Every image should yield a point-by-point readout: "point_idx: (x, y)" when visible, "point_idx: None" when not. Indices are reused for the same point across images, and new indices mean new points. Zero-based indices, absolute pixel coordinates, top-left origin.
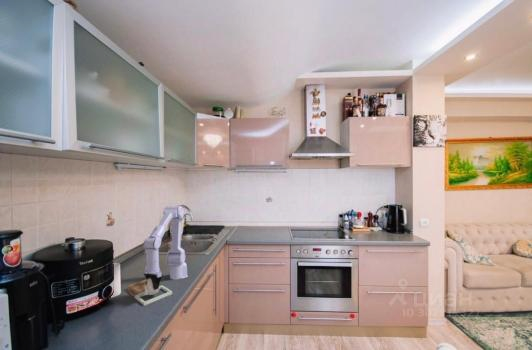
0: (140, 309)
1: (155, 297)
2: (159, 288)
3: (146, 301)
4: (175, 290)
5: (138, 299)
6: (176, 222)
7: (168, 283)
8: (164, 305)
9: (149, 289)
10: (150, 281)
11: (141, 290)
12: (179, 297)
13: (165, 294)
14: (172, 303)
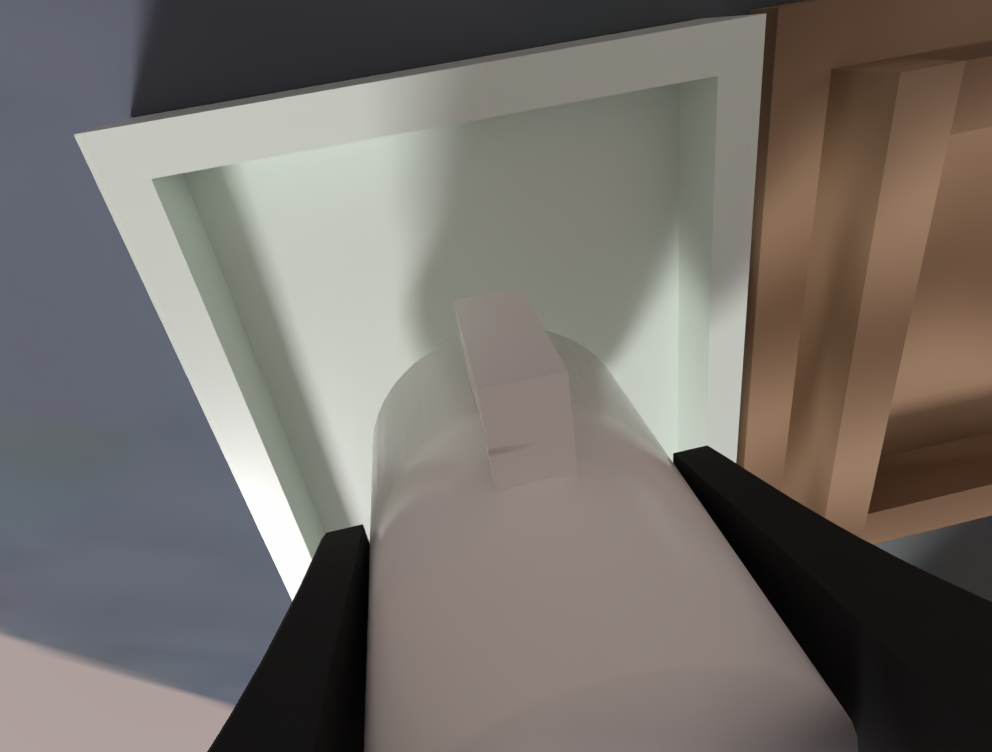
0: (80, 8)
1: (245, 432)
2: None
3: (135, 212)
4: None
5: (497, 59)
6: None
7: None
8: (6, 480)
9: (433, 438)
10: (413, 745)
11: (867, 236)
12: (196, 685)
13: (295, 592)
14: (19, 590)
